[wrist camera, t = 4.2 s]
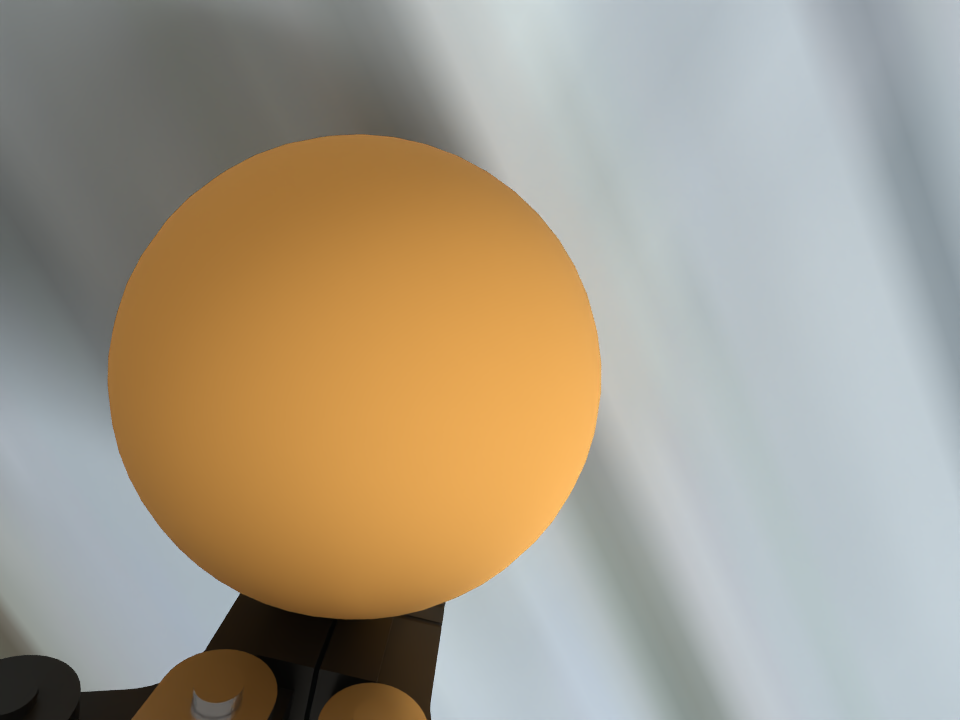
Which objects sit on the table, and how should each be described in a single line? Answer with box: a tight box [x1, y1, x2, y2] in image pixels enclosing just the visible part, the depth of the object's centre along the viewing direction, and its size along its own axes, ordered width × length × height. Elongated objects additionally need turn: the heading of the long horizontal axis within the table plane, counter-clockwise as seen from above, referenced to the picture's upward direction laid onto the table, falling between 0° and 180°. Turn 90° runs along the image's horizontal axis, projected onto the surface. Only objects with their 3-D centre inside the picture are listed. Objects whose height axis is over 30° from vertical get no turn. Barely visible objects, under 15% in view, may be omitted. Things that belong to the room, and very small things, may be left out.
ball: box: [108, 134, 601, 619], centre depth 8 cm, size 6×6×6 cm
